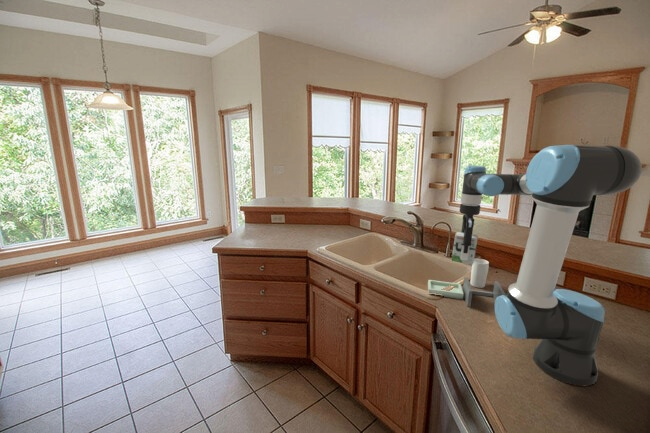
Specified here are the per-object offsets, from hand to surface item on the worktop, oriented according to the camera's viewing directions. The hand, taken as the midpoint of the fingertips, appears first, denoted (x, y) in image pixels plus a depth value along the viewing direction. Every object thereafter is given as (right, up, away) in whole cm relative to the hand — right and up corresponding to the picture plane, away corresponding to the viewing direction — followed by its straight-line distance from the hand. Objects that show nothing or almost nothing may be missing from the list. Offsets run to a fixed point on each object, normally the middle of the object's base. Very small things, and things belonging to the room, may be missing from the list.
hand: (463, 256), depth 129 cm
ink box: (0, -2, 0) cm, 2 cm away
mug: (+14, -15, +14) cm, 25 cm away
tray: (-5, -16, +6) cm, 18 cm away
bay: (+7, -18, -1) cm, 20 cm away
